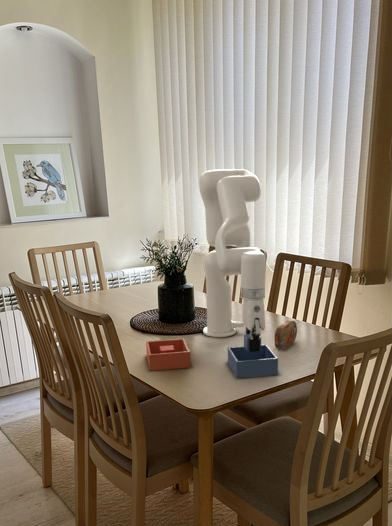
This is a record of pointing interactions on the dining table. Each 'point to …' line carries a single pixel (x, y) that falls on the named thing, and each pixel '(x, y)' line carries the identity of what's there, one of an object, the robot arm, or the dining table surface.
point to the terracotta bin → (168, 355)
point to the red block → (167, 349)
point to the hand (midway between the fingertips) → (252, 347)
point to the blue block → (246, 342)
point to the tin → (285, 335)
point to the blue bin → (252, 362)
